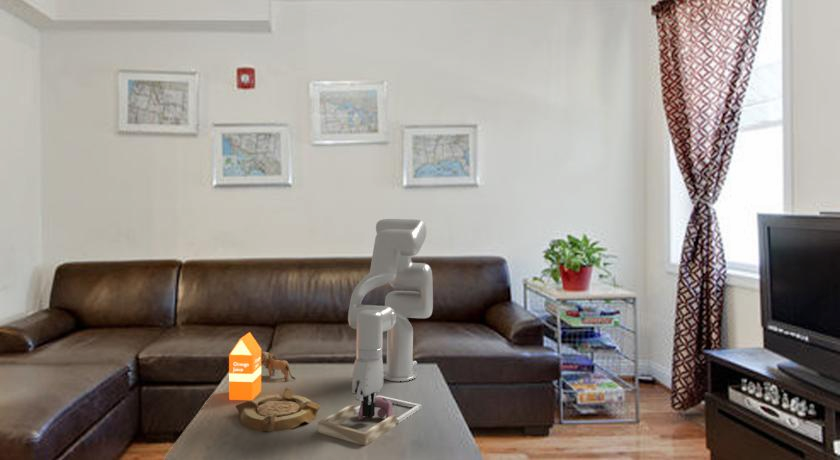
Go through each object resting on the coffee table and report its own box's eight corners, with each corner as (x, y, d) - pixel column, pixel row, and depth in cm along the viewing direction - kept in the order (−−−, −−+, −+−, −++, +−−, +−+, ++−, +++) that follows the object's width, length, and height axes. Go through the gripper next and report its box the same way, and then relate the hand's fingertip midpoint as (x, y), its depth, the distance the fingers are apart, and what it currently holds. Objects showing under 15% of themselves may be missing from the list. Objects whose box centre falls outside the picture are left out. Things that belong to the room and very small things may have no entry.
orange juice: (261, 390, 183) (261, 332, 182) (252, 400, 174) (252, 338, 173) (238, 390, 183) (238, 331, 182) (228, 399, 174) (228, 338, 173)
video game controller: (392, 423, 161) (394, 398, 164) (389, 421, 157) (392, 396, 160) (359, 421, 163) (362, 396, 166) (356, 419, 159) (359, 394, 161)
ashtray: (234, 406, 169) (234, 391, 169) (311, 398, 178) (311, 383, 177) (237, 438, 147) (237, 420, 147) (325, 427, 155) (325, 409, 155)
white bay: (378, 398, 177) (378, 395, 177) (421, 408, 169) (421, 404, 169) (353, 412, 165) (353, 408, 165) (398, 423, 157) (398, 419, 157)
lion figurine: (256, 377, 196) (256, 353, 196) (264, 373, 201) (264, 349, 201) (291, 382, 192) (291, 357, 191) (299, 378, 197) (299, 353, 196)
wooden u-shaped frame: (351, 413, 164) (351, 404, 164) (396, 425, 156) (396, 415, 156) (317, 432, 151) (318, 421, 151) (365, 445, 143) (365, 434, 143)
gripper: (373, 346, 165) (372, 405, 166) (343, 357, 152) (342, 422, 153) (394, 349, 162) (393, 410, 162) (365, 361, 149) (364, 427, 149)
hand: (368, 416), depth 158 cm, fingers closed
